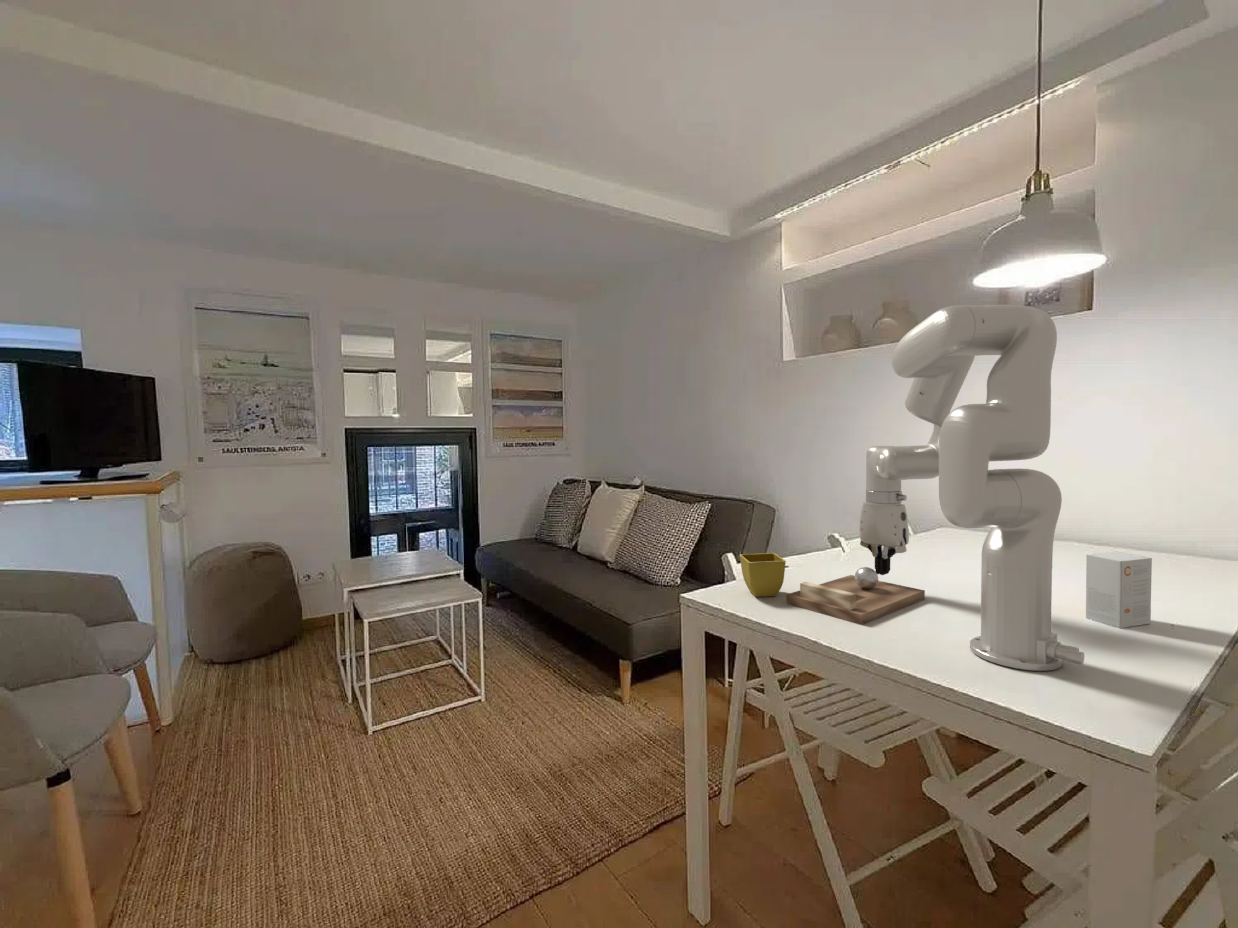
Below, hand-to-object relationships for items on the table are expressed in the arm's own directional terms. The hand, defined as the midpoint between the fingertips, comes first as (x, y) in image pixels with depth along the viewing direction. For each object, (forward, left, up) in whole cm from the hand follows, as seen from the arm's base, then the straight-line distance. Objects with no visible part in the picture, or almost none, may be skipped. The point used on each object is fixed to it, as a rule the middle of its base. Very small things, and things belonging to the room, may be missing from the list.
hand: (882, 573), depth 129 cm
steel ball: (0, +8, 0) cm, 8 cm away
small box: (-39, -14, -4) cm, 42 cm away
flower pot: (+17, +24, -4) cm, 29 cm away
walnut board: (0, +12, -4) cm, 13 cm away
